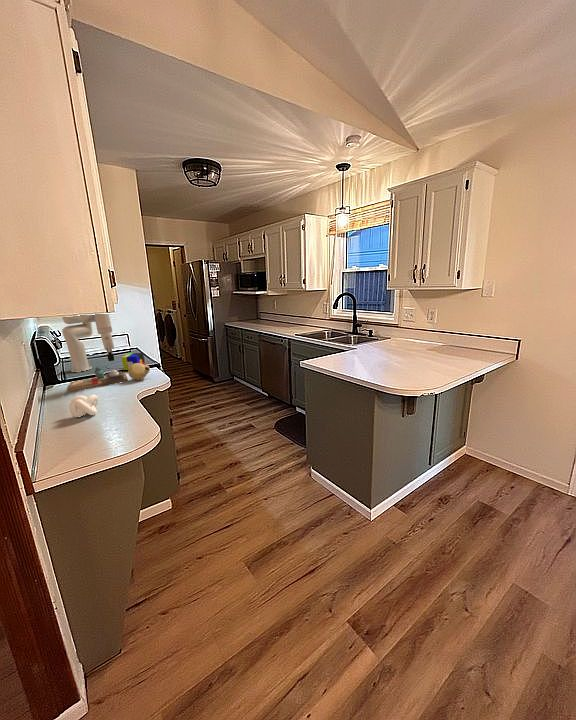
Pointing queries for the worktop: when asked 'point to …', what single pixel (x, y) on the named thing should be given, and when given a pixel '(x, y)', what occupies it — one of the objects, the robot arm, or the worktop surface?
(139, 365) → the toy pig
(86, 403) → the white knot
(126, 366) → the puzzle toy
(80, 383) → the game board
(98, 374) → the pawn
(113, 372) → the dome
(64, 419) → the worktop surface
